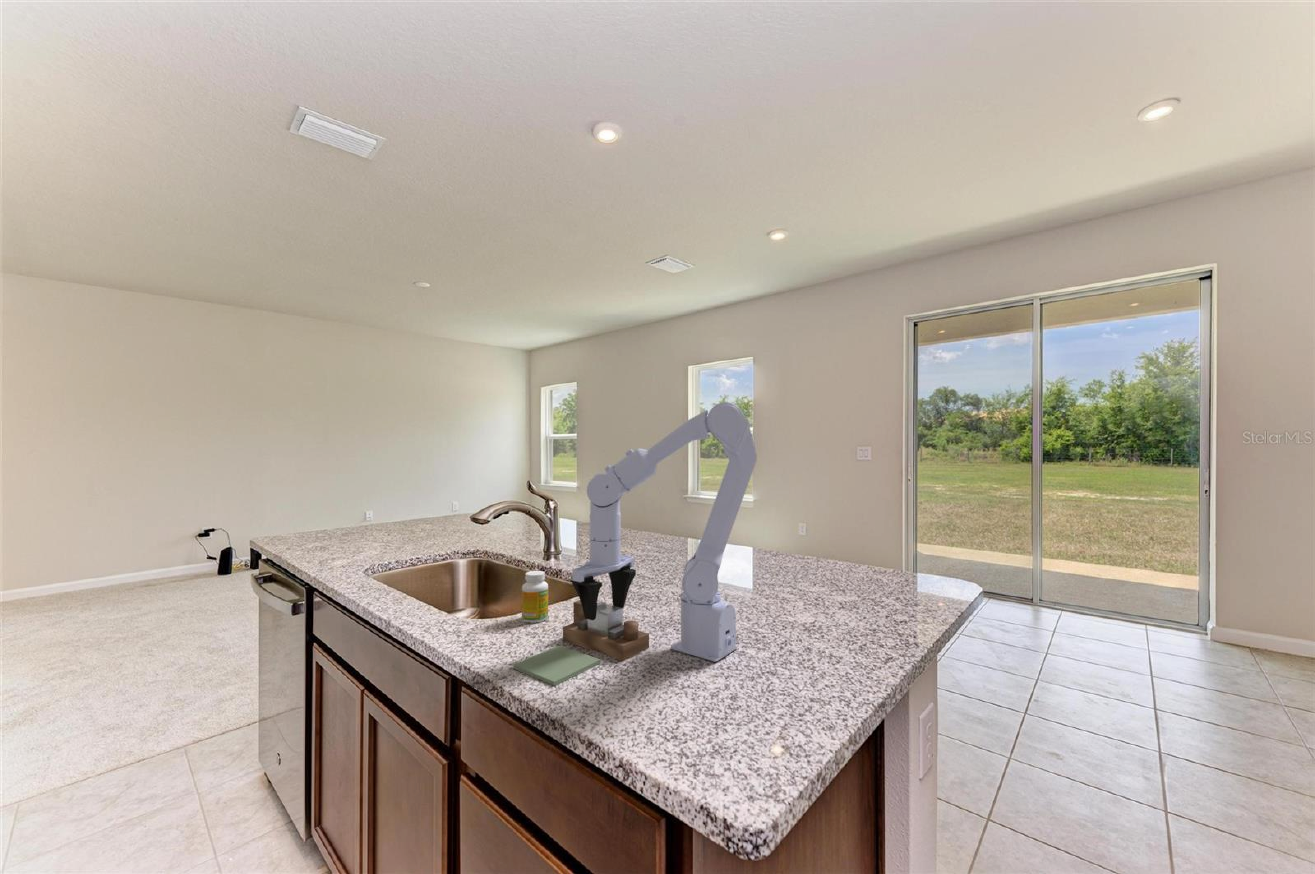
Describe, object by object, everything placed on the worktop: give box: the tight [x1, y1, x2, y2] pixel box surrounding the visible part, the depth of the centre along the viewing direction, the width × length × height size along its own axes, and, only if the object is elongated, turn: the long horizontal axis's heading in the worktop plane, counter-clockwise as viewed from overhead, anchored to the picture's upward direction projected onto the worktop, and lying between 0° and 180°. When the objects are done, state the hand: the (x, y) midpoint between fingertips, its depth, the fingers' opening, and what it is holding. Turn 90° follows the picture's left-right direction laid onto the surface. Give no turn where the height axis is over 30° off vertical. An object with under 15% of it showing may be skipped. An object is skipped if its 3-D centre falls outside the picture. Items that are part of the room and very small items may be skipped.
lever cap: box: [588, 600, 624, 637], centre depth 92 cm, size 5×4×5 cm
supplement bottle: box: [521, 570, 549, 624], centre depth 105 cm, size 5×5×10 cm
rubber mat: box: [512, 645, 601, 687], centre depth 83 cm, size 10×10×1 cm
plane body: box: [562, 599, 650, 662], centre depth 92 cm, size 15×7×6 cm, turn 53°
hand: (604, 613), depth 92 cm, fingers open, 7 cm apart
